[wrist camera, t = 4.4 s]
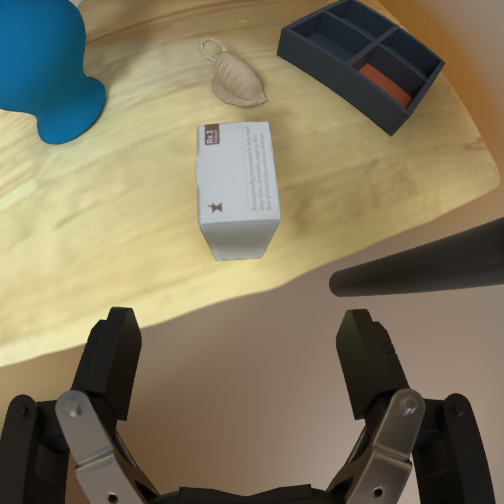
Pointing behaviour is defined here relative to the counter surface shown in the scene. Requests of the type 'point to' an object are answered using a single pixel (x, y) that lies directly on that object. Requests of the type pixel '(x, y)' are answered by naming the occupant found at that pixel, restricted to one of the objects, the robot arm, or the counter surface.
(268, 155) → the cosmetic box
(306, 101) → the counter surface
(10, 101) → the vase
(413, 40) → the grid
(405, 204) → the counter surface
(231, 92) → the decorative ornament
